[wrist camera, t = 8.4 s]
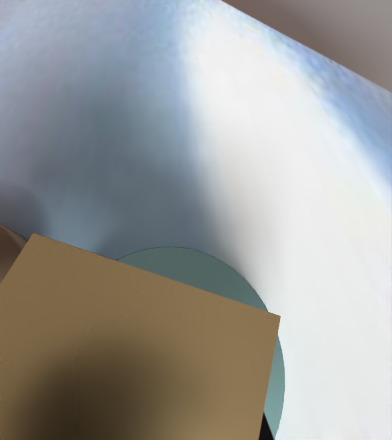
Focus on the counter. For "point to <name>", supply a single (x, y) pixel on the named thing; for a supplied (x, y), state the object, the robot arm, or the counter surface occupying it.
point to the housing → (125, 353)
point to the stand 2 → (220, 285)
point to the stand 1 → (9, 249)
